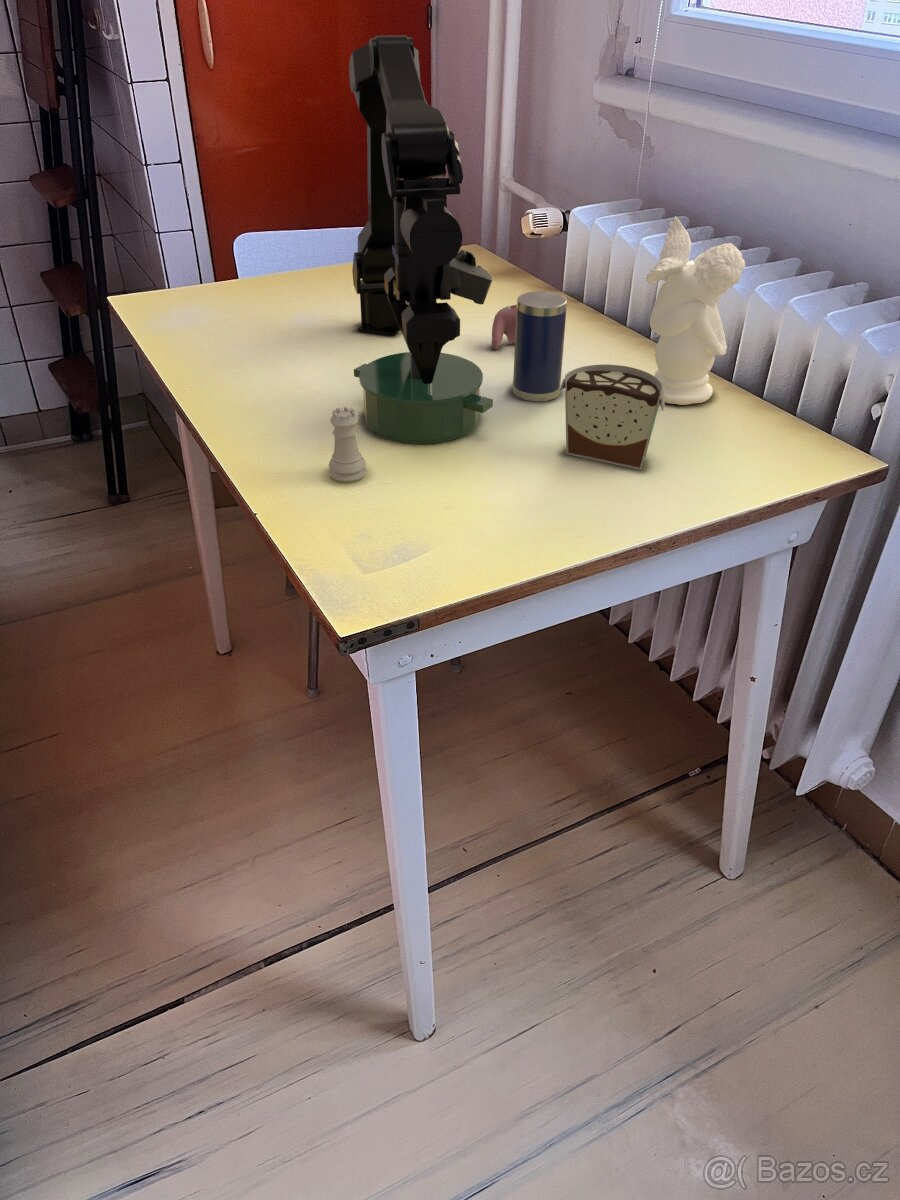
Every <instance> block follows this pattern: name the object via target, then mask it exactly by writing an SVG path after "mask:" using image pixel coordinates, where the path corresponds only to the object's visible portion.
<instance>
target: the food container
mask: <svg viewBox="0 0 900 1200" xmlns="http://www.w3.org/2000/svg"><path fill="white" fill-rule="evenodd" d="M563 390H564V400H565V401H564V407H565V408H564V409H565V410H564V411H565V454H566V455H568V456H574V457H577V458H583V459H587V460H592V461H597V462H601V463H606V464H610V465H616V466H620V467H625V468H629V469H634V470H639V471H642V469H643V467H644V464H645V461H646V456H647V452H648V449H649V445H650V441H651V437H652V434H653V429H654V426H655V423H656V418H657V414H658V411H659V408H660V407H661V411H664V410H665V408H666V407H665V405H666V402H665V400H664V390H663V388H662V384H661V382H660V381H659V380H658V379H657V378H656V377H655V375H653V374H652V373H649V372H647V371H645V370H643V369H639V368H636V367H632V366H627V365H622V364H621V365H619V364H610V363H609V364H605V363H603V364H590V365H585V366H584V365H583V366H581V367H577V368H574V369H572V370H571V371H568V372H567V373H566V374H565V376H564V378H563V379H562V380H561V384H560V392H563ZM660 403H661V406H660ZM659 406H660V407H659Z"/></svg>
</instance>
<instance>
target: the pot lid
mask: <svg viewBox="0 0 900 1200" xmlns="http://www.w3.org/2000/svg"><path fill="white" fill-rule="evenodd" d="M366 364H367V365H366V366H365V367H364V368H363V369H362V370H361V372H360V375H359V378H358V380H359V381H358V382H359V384H360V386H361V388H362V390H363V389H364V390H365V391H367V392H368V393H369V394H371V395H373V396H375V397H377V398H380V399H383V400H387V401H391V402H396V403H402V404H414V405H426V404H438V403H445V402H450V401H454V400H458V399H461V398H464V397H466V396H468V395H470V394H472V393H474V392H475V391H476V390H477V389H478V388H479V387H480V388H481V386H482V384H483V380H484V376H483V375H484V374H483V370H482V369H481V368H480V367H479V366H478V365H477V364H476V363H474V362H473V361H471V360H469V359H468V358H467V359H466V358H464V357H461V356H458V355H454V354H451V353H446V352H441V353H440V356H439V360H438V363H437V367H436V371H435V374H434V378H433V382H432V383H431V384H424V383H423V382H422V379H421V377H420V374H419V372H418V369H417V367H416V364H415V362H414V359H413V357H412V354H411V352H410V351H406V352H398V353H394V354H393V353H392V354H388V355H385V356H382V357H379V358H376V359H374V360H372V361H370V362H368V363H366Z"/></svg>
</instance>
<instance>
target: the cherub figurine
mask: <svg viewBox="0 0 900 1200" xmlns="http://www.w3.org/2000/svg"><path fill="white" fill-rule="evenodd" d="M669 226H670V227H668V228H667V230H666V231H667V235H666V236H665V242H664V243H663V248H661V250H660V254H659V259H658V262H657V263H656V264H655V265H654V267H653V269H650V270H649V273H647V274H646V276H645V278H646V280H645V281H646V282H647V284H650V285H654V284H656V282H660V281H664V282H663V283H662V284H661V286H660V288H659V289H658V292H657V295H656V299H655V303H654V306H653V308H652V311H651V314H650V317H649V327H650V329H651V330H652V331H653V333H655V334H656V335H659V336H660V337H659V339H658V341H657V343H656V347H655V353H654V358H655V363H656V366H657V370H656V371H655V372H654V376H655V377H656V378H657V379H658V380H659V381H660V382H661V384H662V388H663V390H664V400H665V404H671V405H674V404H675V405H679V406H684V405H686V406H687V405H692V404H701V403H704V402H706V401H708V400H709V399H710V398H711V397H712V395H713V393H714V389H713V387H712V385H711V384H710V383H709V381H710V375H709V372H711V370H712V368H713V366H714V364H715V359H716V356H718V357H719V356H725V355H726V353H727V351H728V346H727V341H726V336H725V331H724V327H723V323H722V319H721V315H720V312H719V309H718V307H717V304H718V303H719V302H720V301H721V299H722V296H723V294H725V293H726V292H728V290H729V289H730V288H733V287H734V286H735V285H737V284H738V283H739V282H740V280H741V278H742V277H741V276H742V274H743V271H744V270H745V269H746V260H745V259H743V253H742V252H741V251H740V249H739V248H737V247H736V245H734V244H733V243H731V242H727V243H722V244H719V245H717V246H711V247H710V248H709V249H706V250H705V251H704V252H702V253H700V254H699V255H697V256H696V257H695V259H693V258H690V255H691V249H692V241H691V238H690V234H689V232H688V231H687V229H686V228H685V227H684V225H683V224H682V222H681V221H680V220H679V218H678V217H677V216H676V215H675V216H674V218H673V221H670V222H669ZM689 259H690V260H689Z"/></svg>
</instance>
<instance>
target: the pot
mask: <svg viewBox="0 0 900 1200" xmlns="http://www.w3.org/2000/svg"><path fill="white" fill-rule="evenodd" d="M367 364H368V363H363V364H361V365H359V366H357V367H356V368H354V369H353V377H355V378H358V379H359V375H360V372H361V370H362V369H363V368H364V367H365V366H366V365H367ZM480 389H481V386H480V387H479V388H478V389H477V390H476V391H475V392H474V393H472V394H470V395H468V396H466V397H464V398H461V399H458V400H454V401H450V402H445V403H438V404H426V405H414V404H402V403H396V402H391V401H387V400H383V399H380V398H377V397H375V396H373V395H371V394H369V393H368V392H367V391H365V390H364V389H363V388H362V396H363V397H362V398H363V412H364V413H363V414H364V419H365V424H366V426H367V427H368V429H369V430H370V431H371V432H372V433H373V434H375V435H376V436H378V437H380V438H382V439H386V440H389V441H392V442H397V443H401V444H409V445H433V444H441V443H446V442H451V441H453V440H457V439H459V438H462V437H464V436H466V435H467V434H469V433H471V432H472V431H473V430H474V429H475V427H476V426H477V424H478V421H479V416H480V414H484V413H485V412H487V411H488V410H490V409H492V408H493V407H494V398H490V397H486V396H482V395H480V393H481V392H480Z"/></svg>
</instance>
